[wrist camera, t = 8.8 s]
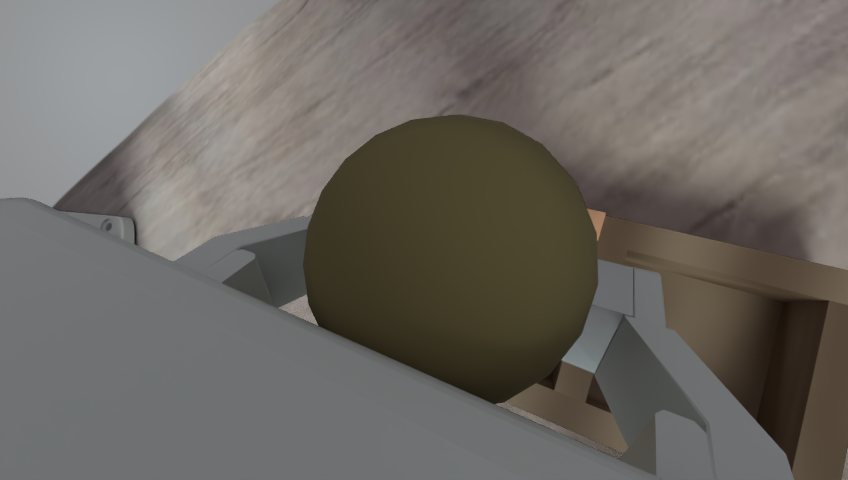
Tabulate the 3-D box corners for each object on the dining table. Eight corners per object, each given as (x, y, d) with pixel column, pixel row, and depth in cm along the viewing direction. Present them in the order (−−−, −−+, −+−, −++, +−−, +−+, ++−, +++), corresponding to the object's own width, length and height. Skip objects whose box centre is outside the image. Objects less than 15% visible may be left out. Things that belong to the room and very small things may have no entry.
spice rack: (405, 343, 24) (380, 350, 20) (455, 191, 25) (440, 169, 21) (768, 495, 17) (838, 550, 13) (817, 277, 18) (895, 267, 14)
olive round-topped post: (472, 200, 16) (357, 12, 6) (602, 260, 14) (762, 124, 4) (410, 313, 16) (186, 316, 6) (530, 392, 14) (501, 609, 4)
